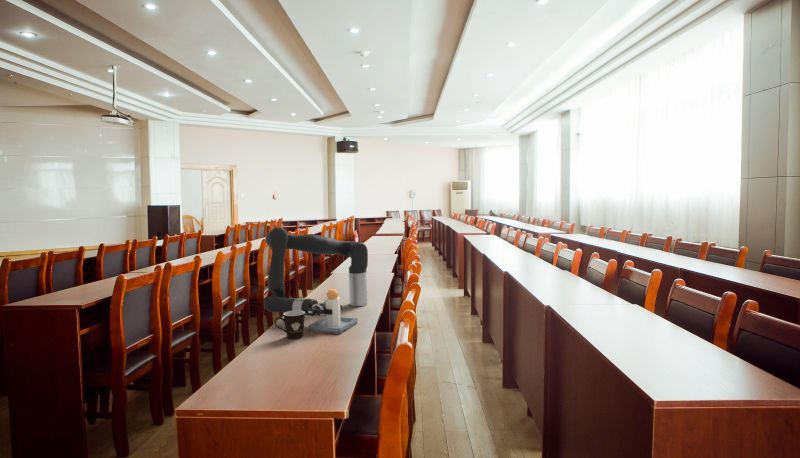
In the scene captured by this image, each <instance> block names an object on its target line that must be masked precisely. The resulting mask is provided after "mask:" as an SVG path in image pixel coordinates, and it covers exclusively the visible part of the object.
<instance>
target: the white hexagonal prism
mask: <svg viewBox="0 0 800 458" xmlns="http://www.w3.org/2000/svg"><path fill="white" fill-rule="evenodd" d="M324 300H325V301H324V302H325V304H326V309H332V315H326V314H325V317H326V326H327V327H338V326H340V325H341V317H342V315H341V310H340V305H341V297H340V296H338V298H337V299H328V298H327V297H325V299H324Z"/></svg>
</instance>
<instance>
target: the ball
mask: <svg viewBox="0 0 800 458" xmlns="http://www.w3.org/2000/svg"><path fill="white" fill-rule="evenodd" d="M338 297H339V292H338V291H337V290H336V289H334V288H331V289H329V290H327V292H326V298H328V299H337V298H338Z"/></svg>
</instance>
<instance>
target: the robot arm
mask: <svg viewBox="0 0 800 458" xmlns="http://www.w3.org/2000/svg"><path fill="white" fill-rule="evenodd" d="M264 239H265V243H266V244H267V245H268V246H269V247H270V248H271V258H270V264H269V269H268V275H267V277H268V278H267V290H268V291H269V292H271V294H272V296H271V295H270V296H268V297H267V298H266V299H264V301H263V307H264V309H265V310H266V311H267V312H270V313H271V312H272V313H285V312H288V311H294V310H301V311H305V317H306V316H307V317H314V316H318V317H320V316H321V315H322V316H323V315H325V316H326V315H332V309H326V304H325V301H324V302H318V301H317V299H314V298H303V297H302V298H298V297H297V298H296V297H286V294H285V293H286V292H285V289H284V282H285V281H284V279H285V276H284V275H285V258H286V251H287V250H294V251H295V250H296V251H300V252H305V253H311V254H316V255H327V256H328V255H339V256H343V257H348V258H350V260H351V261H350V266H349V267H348V285H349V286H348V288H349V289H348V291H349V292H348V293H349V305H350V306H351V307H363V306H366V305H368V283H367V282H368V279H367V269H368V268H367V267H368V263H369V262H368V261H369V260H368V258H369V254H368V253H369V250H368V247H367V245H366V244H365V243H364V242H360V241H351V240H350V241H349V240H348V241H347V240H338V239H335V238H332V237H329V236H324V235H318V234H292V233H291V234H290V233H288V231H287V230H286V229H285V228H284V227H280V226H277V227H274V228H272V229H271V230H270V231H268V232H267V234H266V236H265V238H264ZM341 310H343V305H342V304H340V311H341Z"/></svg>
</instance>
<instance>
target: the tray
mask: <svg viewBox="0 0 800 458" xmlns="http://www.w3.org/2000/svg"><path fill="white" fill-rule="evenodd" d="M357 325H358V318H357V317H345V316H341V325H340V326H338V327H327V326H326V316H324V317H323V318H321V319H318V320H317V321H315V322H313V323H310V324H309V325H308V332H314V333H315V332H316V333H323V334H324V333H325V334H333V335H342V334H343V333H344V332H345V333H346V331H348V330H349V329H351V328H354V326H357Z"/></svg>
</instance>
